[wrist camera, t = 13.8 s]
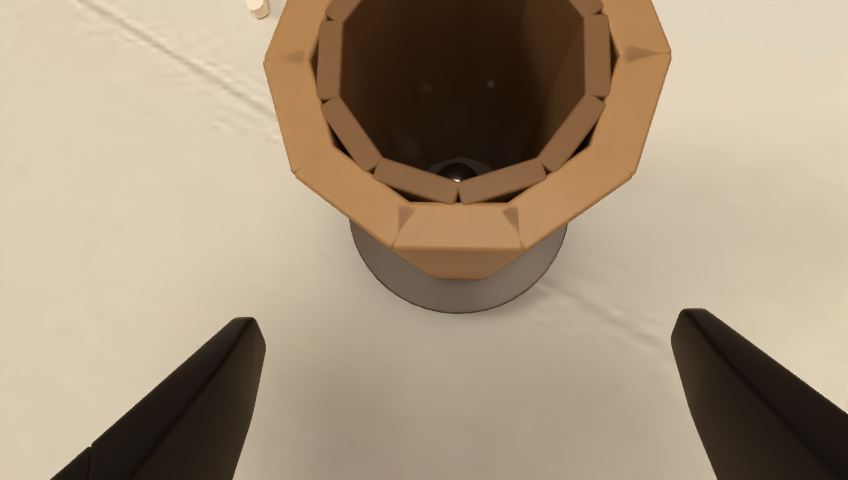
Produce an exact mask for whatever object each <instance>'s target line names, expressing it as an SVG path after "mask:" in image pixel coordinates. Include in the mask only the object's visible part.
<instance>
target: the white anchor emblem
mask: <svg viewBox="0 0 848 480" xmlns="http://www.w3.org/2000/svg"><path fill="white" fill-rule="evenodd" d="M246 5H247V8H248V9H249V10H250V11H251V13H252V14H253V16H254V17H255V18H263V17H265V16H266V15H267V14H268V13H269V9H268V0H246Z"/></svg>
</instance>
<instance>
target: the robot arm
mask: <svg viewBox="0 0 848 480" xmlns="http://www.w3.org/2000/svg"><path fill="white" fill-rule="evenodd" d="M671 346H672V349H673V353H674V357H675V360H676V364H677V367H678V371H679V374H680V378H681V381H682V385H683V389H684V392H685V396H686V399H687V403H688V406H689V409H690V412H691V415H692V418H693V421H694V423H695V426H696V428H697V431H698V433H699V436H700V438H701V441H702V443H703V446H704V448H705V450H706V453H707V455H708V458H709V460H710V463H711V465H712V468H713V470H714V472H715V475H716V477H717V480H848V414H847V413H846V412H844V411H843V410H842V409H840V408H839V407H837V406H836V405H835V404H833V403H832V402H831V401H829V400H828V399H827V398H825V397H824V396H823V395H821V394H820V393H819V392H817V391H816V390H814V389H813V388H812V387H810V386H809V385H808V384H806V383H805V382H804V381H802V380H801V379H800V378H798V377H797V376H796V375H794V374H793V373H791V372H790V371H789V370H787V369H786V368H785V367H783V366H782V365H781V364H779V363H778V362H777V361H775V360H774V359H773V358H771V357H770V356H768V355H767V354H766V353H764V352H763V351H762V350H760V349H759V348H758V347H756V346H755V345H754V344H752V343H751V342H750V341H748V340H747V339H746V338H744V337H743V336H741V335H740V334H739V333H737V332H736V331H735V330H733V329H732V328H731V327H729V326H728V325H727V324H725V323H724V322H723V321H721V320H720V319H718V318H717V317H716V316H714V315H713V314H712V313H710V312H709V311H707V310H706V309H702V308H687V309H683V310H682V311H681V312H680V314H679V316H678V319H677V321H676V324H675V327H674V329H673V332H672V335H671ZM265 351H266V344H265V340H264V338H263V335H262V333H261V330H260V328H259V326H258V323H257V321H256V320H255V319H254V318H253V317H237V318H234V319H233V320H231V321H230V322H229V323H228V324H227V325H226V326H224V327H223V328H222V329H221V330H220V331H219V332H218V333H217V334H215V335H214V336H213V337H212V338H211V339H210V340H209V341H207V342H206V343H205V344H204V345H203V346H202V347H201V348H200V349H198V350H197V351H196V352H195V353H194V354H193V355H192V356H190V357H189V358H188V359H187V360H186V361H185V362H184V363H183V364H181V365H180V366H179V367H178V368H177V369H176V370H175V371H173V372H172V373H171V374H170V375H169V376H168V377H167V378H166V379H164V380H163V381H162V382H161V383H160V384H159V385H158V386H156V387H155V388H154V389H153V390H152V391H151V392H150V393H149V394H147V395H146V396H145V397H144V398H143V399H142V400H141V401H139V402H138V403H137V404H136V405H135V406H134V407H133V408H132V409H130V410H129V411H128V412H127V413H126V414H125V415H124V416H122V417H121V418H120V419H119V420H118V421H117V422H116V423H115V424H113V425H112V426H111V427H110V428H109V429H108V430H107V431H105V432H104V433H103V434H102V435H101V436H100V437H99V438H98V439H96V440H95V441H94V442H93V443H92V445H91V447H87V448H86V449H85V450H84V451H83V452H82V453H80V454H79V455H78V456H77V457H76V458H75V459H74V460H72V461H71V462H70V463H69V464H68V465H67V466H65V467H64V468H63V469H62V470H61V471H60V472H58V473H57V474H56V475H55V476H54V477H53V478H51V479H50V480H232V479H233V476H234V473H235V470H236V467H237V464H238V460H239V457H240V454H241V451H242V448H243V445H244V442H245V438H246V435H247V432H248V429H249V426H250V422H251V419H252V415H253V411H254V407H255V402H256V397H257V392H258V387H259V382H260V377H261V372H262V367H263V362H264V357H265Z"/></svg>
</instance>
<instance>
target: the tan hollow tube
mask: <svg viewBox="0 0 848 480" xmlns="http://www.w3.org/2000/svg"><path fill="white" fill-rule="evenodd" d="M670 62H671V48H670V46H669V44H668V41H667V39H666V36H665V34H664V31H663V29H662V26H661V24H660V21H659V19H658V16H657V14H656V11H655V9H654V6H653V4H652V1H651V0H287V2H286V5H285V7H284V10H283V12H282V15H281V17H280V20H279V22H278V25H277V27H276V30H275V32H274V35H273V37H272V40H271V42H270V45H269V47H268V50H267V52H266V55H265V61H264V62H263V66H264V69H265V73H266V77H267V81H268V84H269V88H270V92H271V96H272V100H273V103H274V107H275V111H276V115H277V118H278V122H279V126H280V130H281V133H282V137H283V141H284V145H285V148H286V152H287V156H288V160H289V164H290V167H291V171H292V172H293V174H295V176H296V178H297V179H298V180H300V181H301V182H302V183H304V184H305V185H306V186H307V187H309V188H310V189H311V190H313V191H314V192H315V193H317V194H318V195H319V196H321V197H322V198H323V199H324V200H326V201H327V202H328V203H330V204H331V205H332V206H334V207H335V208H336V209H338V210H339V211H340V212H342V213H343V214H344V215H345V216H347V217H348V218H349V219H351V220H352V221H353V222H355V223H356V224H357V225H359V226H360V227H361V228H362V229H364V230H365V231H366V232H368V233H369V234H370V235H372V236H373V237H374V238H376V239H377V240H378V241H379V242H381V243H382V244H383V245H385V246H386V247H387V248H389V249H390V250H392V251H393V252H395V253H396V254H398V255H399V256H401V257H402V258H404V259H405V260H407V261H408V262H410V263H411V264H412V265H414V266H415V267H417V268H418V269H420V270H421V271H423V272H424V273H426V274H427V275H429V276H430V277H432V278H435V279H459V280H483V279H486V278H488V277H489V276H491V275H492V274H494V273H495V272H497V271H498V270H500V269H501V268H503V267H504V266H506V265H507V264H509V263H510V262H512V261H513V260H515V259H516V258H518V257H519V256H521V255H523V254H524V253H526V252H527V251H529V250H530V249H531V248H533V247H534V246H536V245H537V244H539V243H540V242H541V241H543V240H544V239H546V238H547V237H549V236H550V235H551V234H553V233H554V232H556V231H557V230H559V229H560V228H561V227H563V226H564V225H566V224H567V223H569V222H570V221H572V220H573V219H574V218H576V217H577V216H579V215H580V214H582V213H583V212H584V211H586V210H587V209H589V208H590V207H592V206H593V205H594V204H596V203H597V202H599V201H600V200H602V199H603V198H604V197H606V196H607V195H609V194H610V193H612V192H613V191H614V190H616V189H617V188H619V187H620V186H622V185H623V184H624V183H626V182H627V181H629V180H630V179H631V178H632V176H633V175H634V174H635V173H636V170H637V167H638V164H639V161H640V158H641V154H642V151H643V148H644V145H645V142H646V138H647V135H648V132H649V129H650V126H651V122H652V119H653V116H654V113H655V110H656V107H657V103H658V100H659V97H660V94H661V91H662V87H663V84H664V81H665V78H666V75H667V71H668V68H669V65H670ZM459 156H462V157H466V158H469V159H472V160H475V161H478V162H481V163H485V164H488V165H490V167H491V168H492V169H493V171H492V172H489V173H485V174H482V175H479V176H476V177H472V178H469V179H466V180H463V181H460V182H458V181H455V180H452V179H449V178H446V177H442V176H439V175H436V174H433V173H430V172H427V171H428V169H429V168H430V167H431V165H433V164H436V163H440V162H443V161H446V160H449V159H452V158H456V157H459Z"/></svg>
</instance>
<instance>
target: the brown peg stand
mask: <svg viewBox="0 0 848 480" xmlns="http://www.w3.org/2000/svg"><path fill="white" fill-rule="evenodd" d="M492 171H493V169H492V168H491V167H490V165H488V164H485V163H481V162H478V161H475V160H472V159H469V158H466V157H462V156H459V157H456V158H452V159H449V160H446V161H443V162H440V163H436V164H433V165H431V167H430V168H429V169H428V171H427V172H430V173H433V174H436V175H439V176H442V177H446V178H449V179H452V180H455V181H458V182H460V181H463V180H466V179H469V178H472V177H476V176H479V175H482V174H485V173H489V172H492ZM349 222H350V228H351V232H352V235H353V239H354V242H355V245H356V247H357V249H358V251H359V254H360V256H361V257H362V259H363V261H364V262H365V264H366V265H367V267H368V268H369V270H370V271H371V272H372V273H373V275H374V276H375V277H376V278H377V279H378V280H379V281H380V282H381V283H382V284H383V285H384V286H385V287H386V288H387V289H389V290H390V291H391V292H393V293H394V294H396V295H397V296H398V297H400V298H402V299H404V300H406V301H408V302H409V303H411V304H414V305H416V306H419V307H422V308H424V309H428V310H432V311H436V312H441V313H452V314H463V313H474V312H480V311H485V310H489V309H492V308H495V307H498V306H501V305H503V304H505V303H507V302H509V301H511V300H513V299H515V298H516V297H518V296H519V295H521V294H523V293H524V292H526V291H527V290H528V289H529V288H530V287H532V286H533V285H534V284H535V283H536V282H537V281H538V280H539V279H540V278H541V277H542V276H543V275H544V273H545V272H546V271H547V270H548V268H549V267H550V265H551V264H552V262H553V261H554V260H555V258H556V256H557V254H558V252H559V250H560V248H561V246H562V243H563V240H564V237H565V234H566V231H567V225H568V223H567V224H566V225H564V226H563V227H561V228H560V229H559V230H557V231H556V232H554V233H553V234H551V235H550V236H549V237H547V238H546V239H544V240H543V241H541V242H540V243H539V244H537V245H536V246H534V247H533V248H531V249H530V250H529V251H527V252H526V253H524V254H523V255H521V256H519V257H518V258H516V259H515V260H513V261H512V262H510V263H509V264H507V265H506V266H504V267H503V268H501V269H500V270H498V271H497V272H495V273H494V274H492V275H491V276H489V277H488V278H486V279H483V280H459V279H435V278H432V277H430V276H429V275H427V274H426V273H424V272H423V271H421V270H420V269H418V268H417V267H415V266H414V265H412V264H411V263H410V262H408V261H407V260H405V259H404V258H402V257H401V256H399V255H398V254H396V253H395V252H393V251H392V250H390V249H389V248H387V247H386V246H385V245H383V244H382V243H381V242H379V241H378V240H377V239H376V238H374V237H373V236H372V235H370V234H369V233H368V232H366V231H365V230H364V229H362V228H361V227H360V226H359V225H357V224H356V223H355V222H353V221H352V220H351V219H349Z"/></svg>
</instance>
